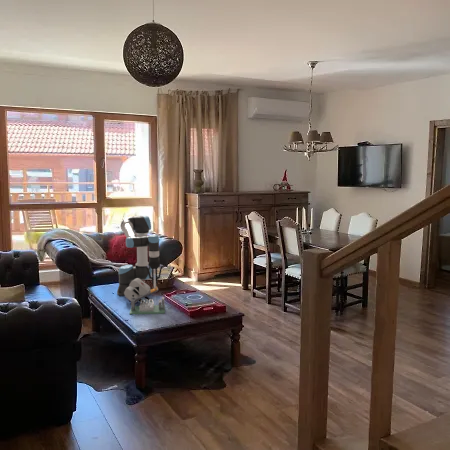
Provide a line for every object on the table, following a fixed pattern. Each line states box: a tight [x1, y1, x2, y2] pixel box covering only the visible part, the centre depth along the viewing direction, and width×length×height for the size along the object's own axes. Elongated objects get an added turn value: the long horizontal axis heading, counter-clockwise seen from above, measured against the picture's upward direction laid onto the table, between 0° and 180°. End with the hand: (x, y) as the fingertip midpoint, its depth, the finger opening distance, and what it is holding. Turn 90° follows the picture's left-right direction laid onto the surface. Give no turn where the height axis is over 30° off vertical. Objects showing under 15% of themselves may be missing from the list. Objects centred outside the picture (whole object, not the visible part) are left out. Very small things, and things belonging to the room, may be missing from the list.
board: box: [129, 304, 166, 315], centre depth 342 cm, size 16×25×1 cm, turn 97°
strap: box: [133, 286, 159, 302], centre depth 340 cm, size 6×21×2 cm, turn 97°
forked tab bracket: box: [130, 298, 136, 311], centre depth 340 cm, size 7×2×8 cm, turn 7°
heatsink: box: [139, 298, 155, 312], centre depth 341 cm, size 12×10×6 cm
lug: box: [158, 296, 165, 310], centre depth 342 cm, size 6×4×8 cm
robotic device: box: [124, 278, 152, 305], centre depth 358 cm, size 10×21×20 cm
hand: (154, 287), depth 340 cm, fingers closed
